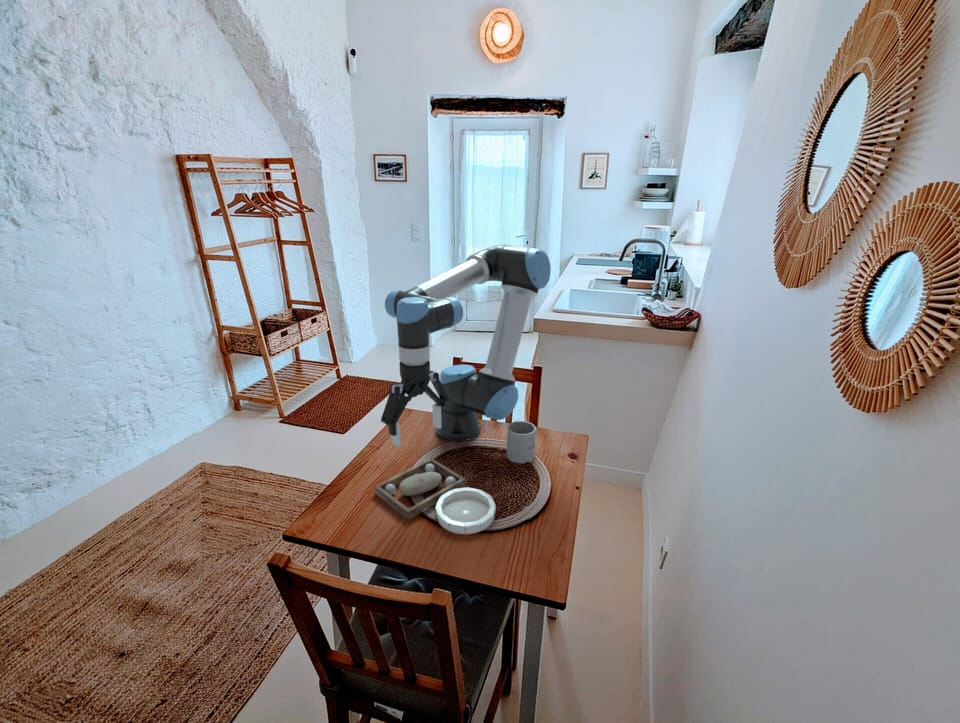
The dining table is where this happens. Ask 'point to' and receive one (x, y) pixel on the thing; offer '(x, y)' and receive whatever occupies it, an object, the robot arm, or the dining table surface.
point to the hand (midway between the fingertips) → (417, 435)
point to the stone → (419, 483)
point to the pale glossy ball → (429, 468)
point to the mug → (521, 441)
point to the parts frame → (424, 504)
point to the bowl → (465, 510)
